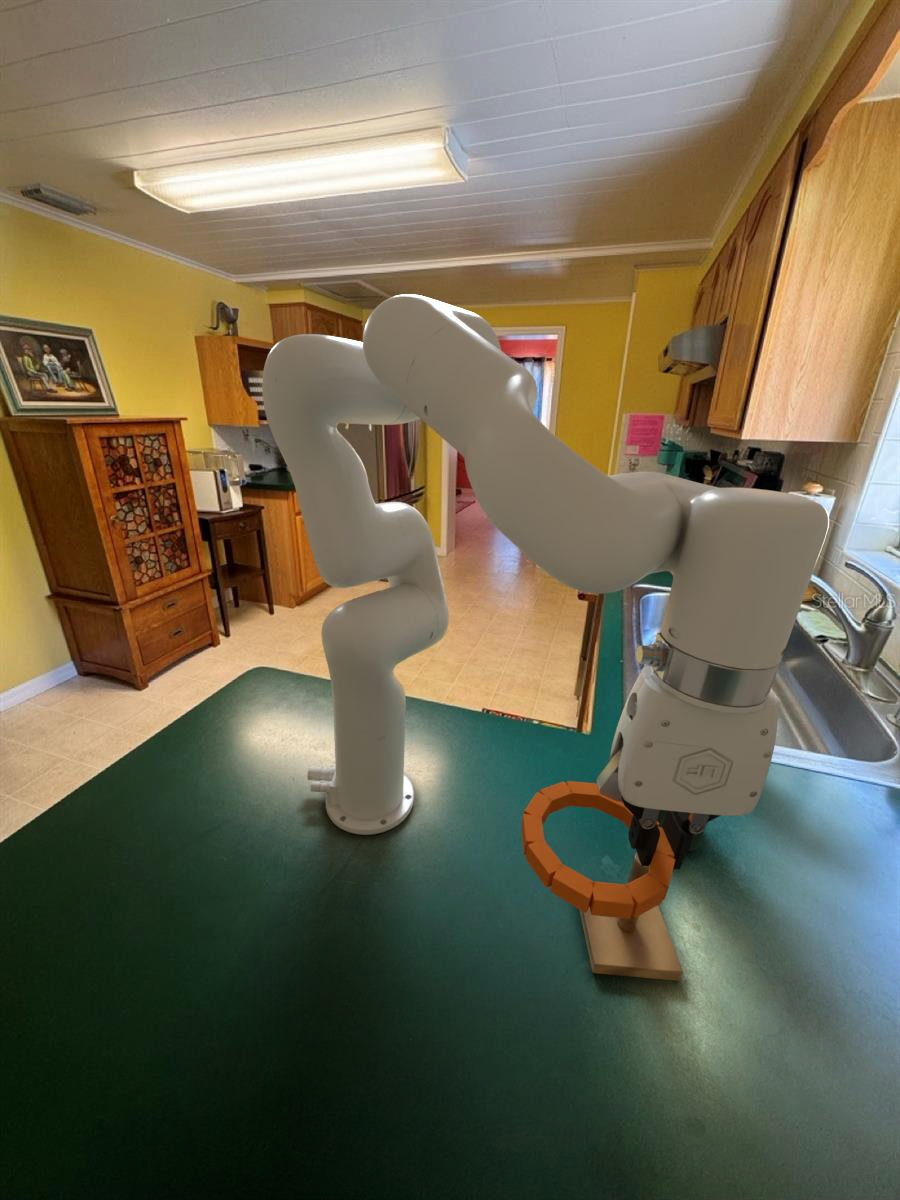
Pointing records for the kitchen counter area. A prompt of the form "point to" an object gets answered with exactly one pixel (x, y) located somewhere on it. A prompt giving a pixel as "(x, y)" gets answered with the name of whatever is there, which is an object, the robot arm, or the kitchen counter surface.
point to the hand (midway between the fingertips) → (654, 852)
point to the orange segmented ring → (576, 886)
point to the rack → (631, 942)
